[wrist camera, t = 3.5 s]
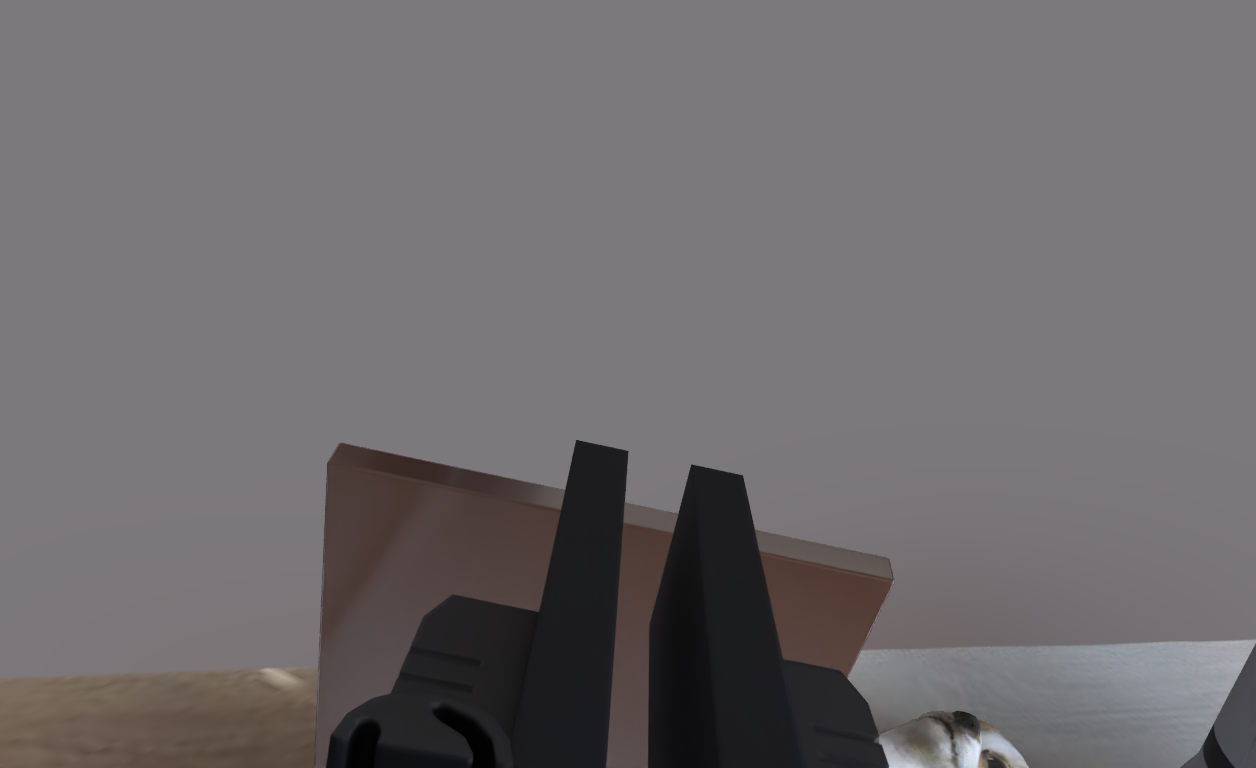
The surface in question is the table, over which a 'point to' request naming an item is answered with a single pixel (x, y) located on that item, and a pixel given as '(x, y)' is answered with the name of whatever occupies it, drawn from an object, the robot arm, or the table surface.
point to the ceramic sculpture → (949, 743)
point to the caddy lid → (532, 581)
